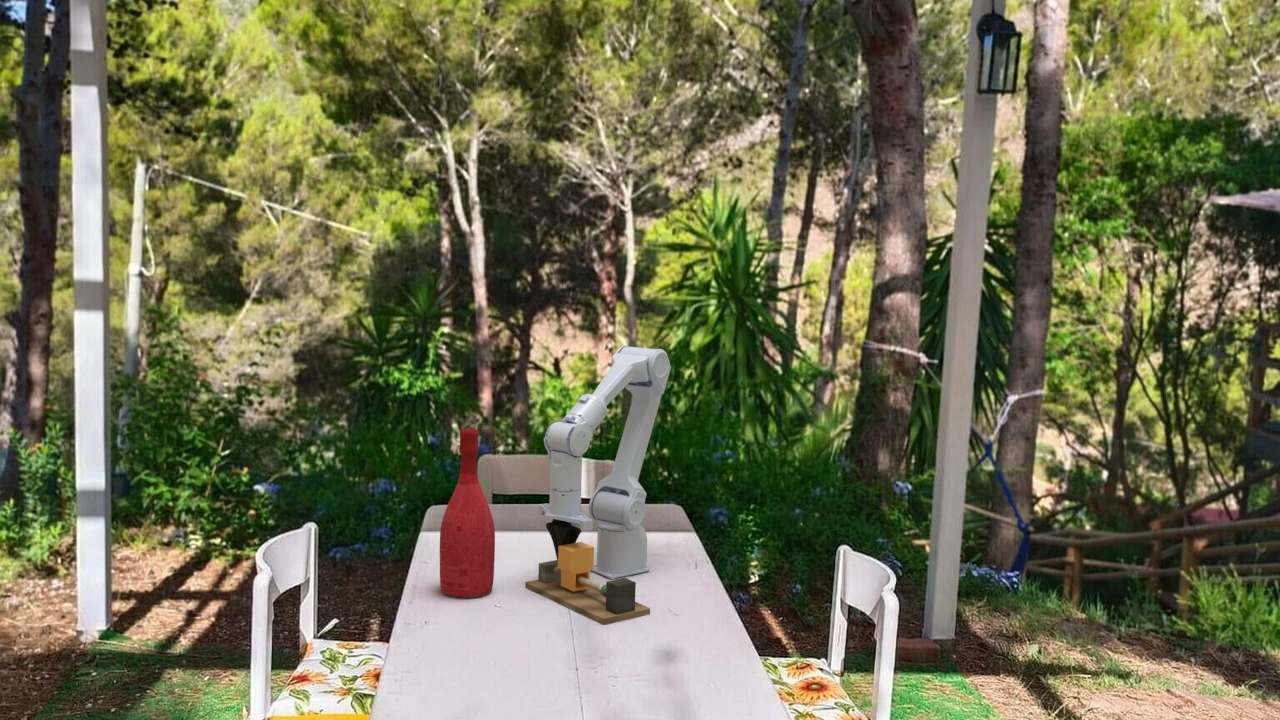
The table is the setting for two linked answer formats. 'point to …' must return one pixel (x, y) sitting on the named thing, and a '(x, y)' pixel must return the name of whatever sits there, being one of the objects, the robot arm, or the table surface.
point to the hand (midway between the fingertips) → (563, 561)
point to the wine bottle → (467, 530)
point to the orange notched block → (575, 564)
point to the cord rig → (590, 595)
